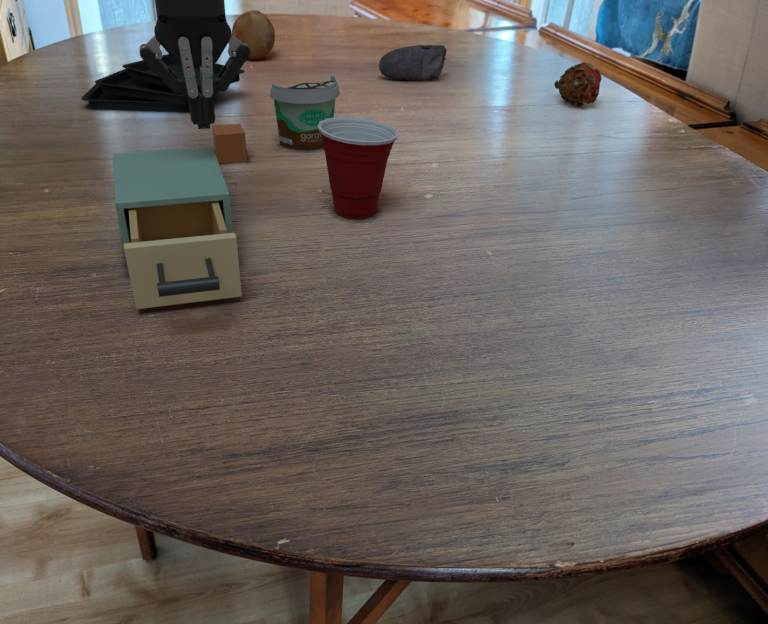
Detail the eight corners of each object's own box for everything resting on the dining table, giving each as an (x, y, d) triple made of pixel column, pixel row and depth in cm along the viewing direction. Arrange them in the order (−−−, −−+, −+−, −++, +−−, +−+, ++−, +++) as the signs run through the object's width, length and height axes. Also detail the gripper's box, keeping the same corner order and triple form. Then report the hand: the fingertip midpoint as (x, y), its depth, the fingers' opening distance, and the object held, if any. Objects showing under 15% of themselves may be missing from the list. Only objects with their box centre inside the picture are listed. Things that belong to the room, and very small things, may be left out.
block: (247, 161, 116) (245, 132, 113) (218, 163, 115) (215, 134, 112) (242, 151, 119) (240, 123, 117) (214, 153, 118) (211, 125, 115)
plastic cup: (409, 218, 101) (415, 133, 94) (340, 233, 97) (340, 144, 89) (371, 190, 109) (374, 109, 101) (306, 202, 104) (303, 118, 97)
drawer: (250, 323, 77) (244, 262, 72) (138, 338, 74) (125, 275, 70) (224, 239, 92) (219, 184, 88) (131, 248, 89) (120, 192, 85)
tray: (79, 118, 129) (72, 87, 126) (93, 81, 147) (88, 54, 144) (249, 114, 135) (247, 85, 132) (243, 79, 153) (241, 53, 150)
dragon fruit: (576, 121, 144) (564, 111, 154) (616, 95, 141) (601, 88, 152) (556, 83, 141) (545, 75, 151) (596, 56, 138) (582, 51, 149)
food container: (291, 157, 118) (288, 94, 112) (272, 146, 122) (269, 84, 116) (353, 144, 124) (354, 83, 118) (333, 133, 128) (333, 74, 122)
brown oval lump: (249, 51, 172) (245, 4, 166) (284, 57, 168) (282, 9, 162) (224, 59, 165) (220, 11, 159) (261, 66, 161) (258, 17, 155)
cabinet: (235, 263, 89) (229, 193, 84) (128, 275, 86) (114, 203, 80) (219, 211, 101) (213, 146, 95) (125, 219, 98) (112, 153, 92)
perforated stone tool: (380, 83, 154) (381, 48, 150) (376, 76, 159) (377, 42, 154) (448, 83, 157) (451, 48, 152) (443, 76, 161) (446, 42, 156)
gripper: (243, -39, 83) (253, 114, 93) (122, -40, 79) (146, 120, 90) (252, -28, 77) (262, 134, 87) (121, -29, 74) (148, 140, 84)
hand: (203, 126), depth 89 cm, fingers closed
